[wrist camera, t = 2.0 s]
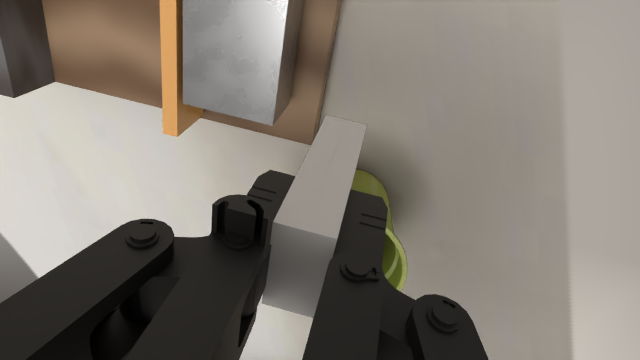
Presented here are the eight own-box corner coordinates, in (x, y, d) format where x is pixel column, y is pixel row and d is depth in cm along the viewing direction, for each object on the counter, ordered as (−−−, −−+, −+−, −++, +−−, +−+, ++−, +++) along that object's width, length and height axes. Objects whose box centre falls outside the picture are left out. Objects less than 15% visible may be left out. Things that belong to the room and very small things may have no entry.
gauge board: (316, 134, 33) (298, 170, 28) (40, 66, 35) (-24, 88, 30) (354, -68, 26) (338, -69, 21) (2, -140, 28) (-91, -158, 23)
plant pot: (322, 129, 33) (294, 184, 26) (430, 178, 33) (434, 247, 26) (284, 215, 38) (252, 282, 31) (378, 257, 38) (369, 334, 31)
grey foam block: (289, 104, 30) (272, 125, 26) (209, 84, 30) (182, 103, 27) (306, -19, 25) (289, -12, 22) (213, -39, 26) (182, -35, 23)
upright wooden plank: (202, 115, 31) (177, 137, 28) (190, 112, 32) (163, 133, 28) (208, -87, 25) (175, -91, 21) (192, -90, 25) (156, -95, 21)
